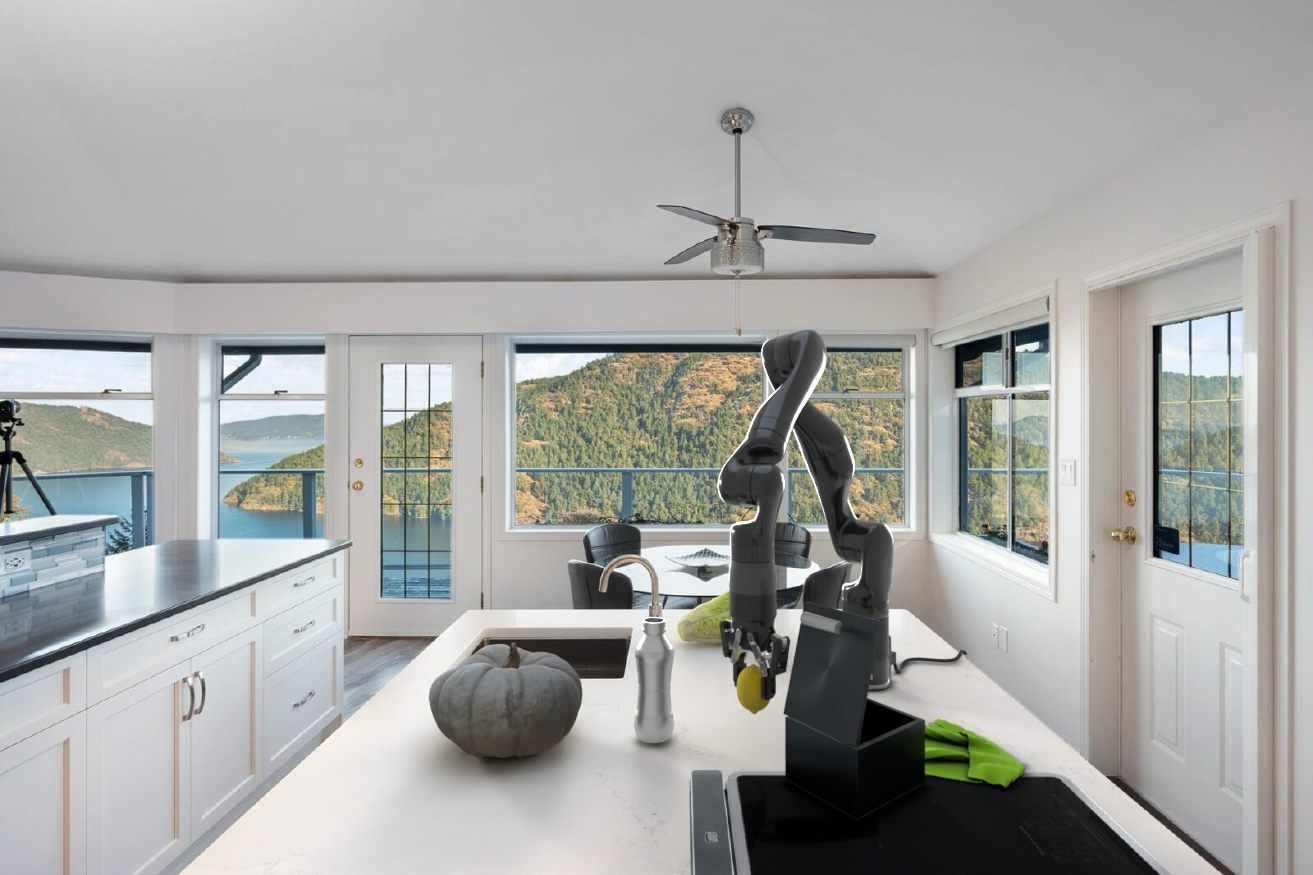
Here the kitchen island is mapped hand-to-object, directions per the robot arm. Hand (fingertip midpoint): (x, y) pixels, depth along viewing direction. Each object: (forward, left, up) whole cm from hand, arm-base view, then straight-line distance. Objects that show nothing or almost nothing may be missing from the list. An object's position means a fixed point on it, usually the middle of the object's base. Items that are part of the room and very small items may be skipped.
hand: (753, 691), depth 105 cm
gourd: (+30, -27, -10) cm, 42 cm away
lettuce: (-35, -46, -10) cm, 59 cm away
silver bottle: (+10, -13, -10) cm, 19 cm away
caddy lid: (0, +16, +8) cm, 18 cm away
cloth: (-26, +18, -10) cm, 33 cm away
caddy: (-5, +16, -10) cm, 19 cm away
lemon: (0, 0, -4) cm, 4 cm away
